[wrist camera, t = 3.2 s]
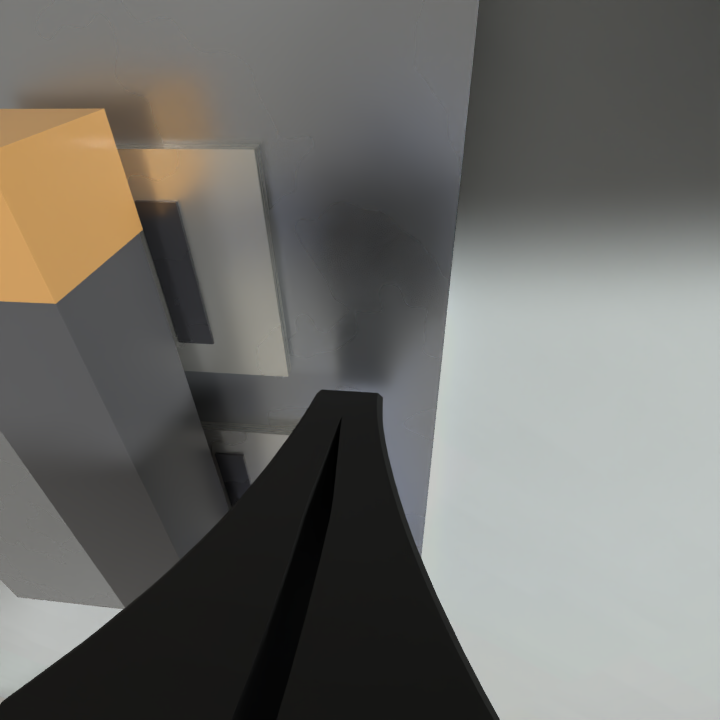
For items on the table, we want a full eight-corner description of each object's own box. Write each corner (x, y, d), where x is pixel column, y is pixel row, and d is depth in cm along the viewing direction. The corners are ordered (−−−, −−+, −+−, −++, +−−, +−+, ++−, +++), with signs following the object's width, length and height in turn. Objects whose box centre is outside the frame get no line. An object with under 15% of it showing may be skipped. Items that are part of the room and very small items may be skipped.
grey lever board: (412, 617, 21) (409, 764, 17) (31, 575, 23) (-52, 699, 19) (478, -49, 7) (538, -95, 3) (-490, -14, 9) (-1196, -14, 5)
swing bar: (252, 571, 16) (226, 654, 14) (179, 563, 17) (144, 644, 14) (103, 108, 7) (-17, 153, 5) (-45, 109, 8) (-213, 152, 6)
